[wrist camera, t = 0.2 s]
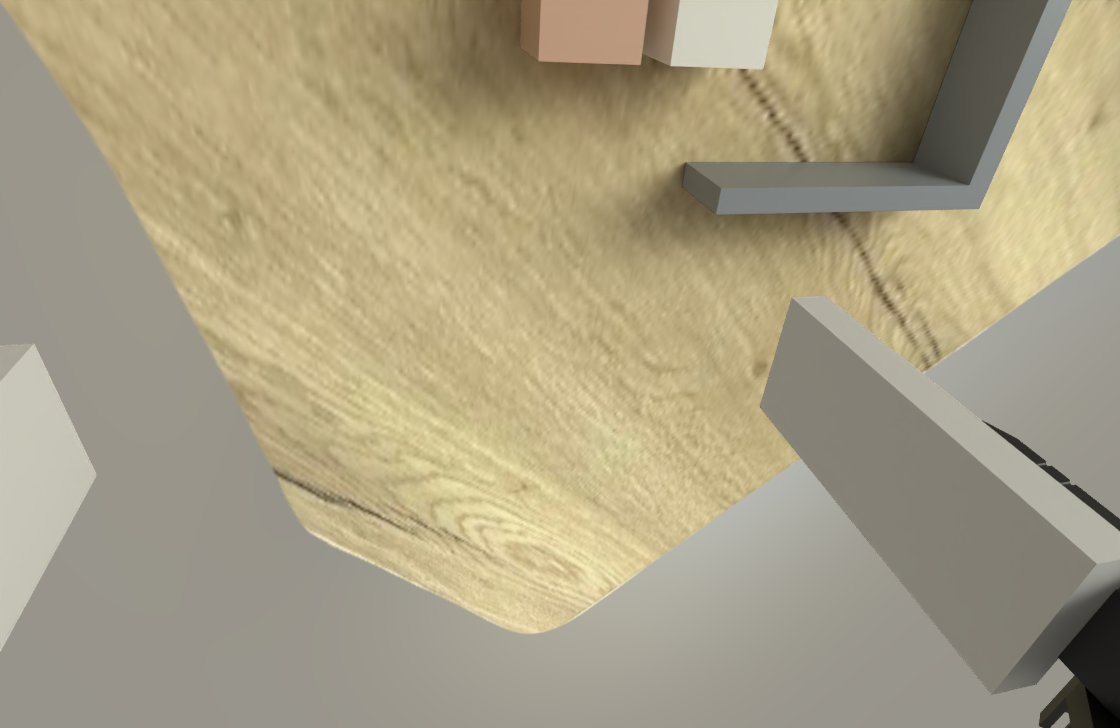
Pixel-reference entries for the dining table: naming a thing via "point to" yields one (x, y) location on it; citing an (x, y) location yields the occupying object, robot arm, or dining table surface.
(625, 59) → the tile
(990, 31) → the box
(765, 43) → the tile
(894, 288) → the dining table surface
